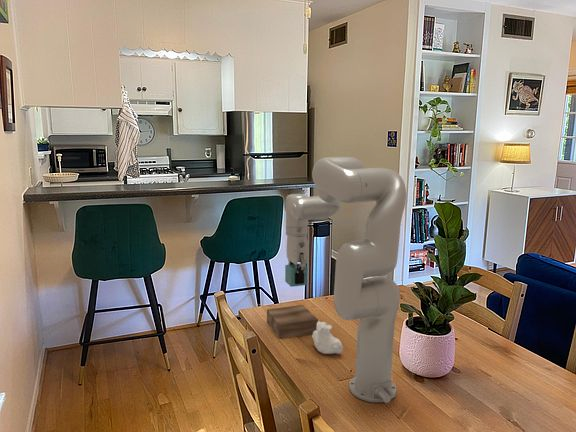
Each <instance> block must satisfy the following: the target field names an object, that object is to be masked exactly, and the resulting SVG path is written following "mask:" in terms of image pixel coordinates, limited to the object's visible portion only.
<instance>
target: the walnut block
mask: <svg viewBox="0 0 576 432" xmlns="http://www.w3.org/2000/svg"><path fill="white" fill-rule="evenodd" d="M318 321H319V319H318V317H316V316H315V315H314V314H313V313H312V312H311V311H310V310H309V309H308V308H307V307H306V306H305V305H304V304H299V305H291V306H290V305H289V306H282V307H275V308H268V309H266V323H267V324H268V326H269V327H270V328H271V330H272V331H273V332H274V334H275V335H276V336H277V338H278V339H279V340H281V339H288V338H294V337H300V336H307V335H313V332H314V331H315V330H317V329H316V327H317V322H318Z"/></svg>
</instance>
